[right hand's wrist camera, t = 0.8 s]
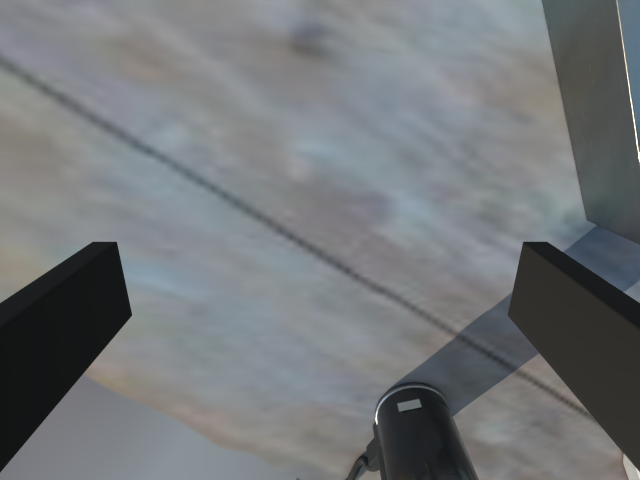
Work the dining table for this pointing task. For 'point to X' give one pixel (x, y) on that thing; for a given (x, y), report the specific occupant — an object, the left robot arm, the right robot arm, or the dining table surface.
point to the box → (601, 104)
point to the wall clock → (631, 469)
